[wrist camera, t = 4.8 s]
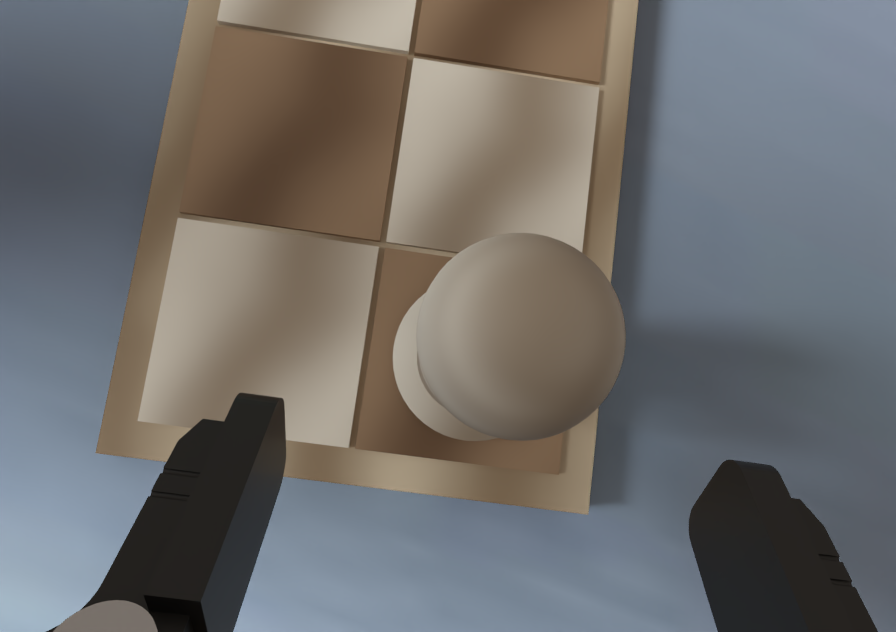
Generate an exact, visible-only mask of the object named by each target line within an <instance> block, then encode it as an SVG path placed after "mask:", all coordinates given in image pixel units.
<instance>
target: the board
mask: <svg viewBox="0 0 896 632" xmlns="http://www.w3.org/2000/svg"><path fill="white" fill-rule="evenodd" d="M637 10H638V0H189V2H188V7H187V12H186V17H185V22H184V27H183V31H182V36H181V41H180V46H179V51H178V56H177V60H176V65H175V70H174V75H173V80H172V85H171V90H170V94H169V99H168V104H167V109H166V114H165V119H164V124H163V128H162V133H161V138H160V143H159V148H158V153H157V158H156V162H155V167H154V172H153V177H152V182H151V187H150V192H149V196H148V201H147V206H146V211H145V216H144V221H143V226H142V230H141V235H140V240H139V245H138V250H137V255H136V260H135V264H134V269H133V274H132V279H131V284H130V289H129V294H128V298H127V303H126V308H125V313H124V318H123V323H122V328H121V332H120V337H119V342H118V347H117V352H116V357H115V362H114V366H113V371H112V376H111V381H110V386H109V391H108V396H107V400H106V405H105V410H104V415H103V420H102V425H101V429H100V434H99V439H98V444H97V449H96V453H99V454H107V455H115V456H123V457H131V458H139V459H147V460H155V461H163V462H167V460H168V459H169V457H170V455H171V453H172V451H173V449H174V447H175V445H176V443H177V442H178V440H179V439H180V438H181V437H183V436H184V435H185V434H186V433H187V432H188V431H189V430H191V429H192V428H193V427H194V426H195V425H196V424H197V423H198V422H200V421H201V420H202V419H209V420H217V421H225V418H226V416H227V414H228V412H229V410H230V408H231V406H232V403H233V401H234V399H235V398H236V396H237V395H238V394H239V393H241V392H242V393H249V394H257V395H264V396H272V397H279V398H283V400H284V406H285V431H286V463H285V469H284V475H283V477H291V478H299V479H307V480H315V481H323V482H331V483H339V484H347V485H355V486H363V487H371V488H379V489H387V490H395V491H403V492H411V493H419V494H427V495H435V496H443V497H451V498H459V499H467V500H475V501H483V502H491V503H499V504H507V505H515V506H523V507H531V508H539V509H547V510H555V511H563V512H571V513H579V514H587V515H588V512H589V502H590V492H591V481H592V471H593V461H594V451H595V440H596V430H597V420H598V410H599V407H598V408H597V409H596V410H595V411H594V412H593V413H592V414H591V415H590V416H589V417H587V418H586V419H584V420H583V421H582V422H580V423H579V424H577V425H576V426H574V427H572V428H570V429H568V430H566V431H565V432H563V433H560V434H557V435H554V436H551V437H547V438H543V439H538V440H527V441H518V440H506V439H501V438H496V439H491V440H486V441H464V440H459V439H454V438H451V437H448V436H445V435H443V434H441V433H439V432H437V431H435V430H433V429H432V428H430V427H429V426H427V425H426V424H424V423H423V422H422V421H421V420H420V419H419V418H418V417H416V415H415V414H414V413H413V412H412V411H411V410H410V408H409V407H408V405H407V404H406V402H405V401H404V399H403V397H402V395H401V393H400V391H399V389H398V386H397V383H396V380H395V375H394V370H393V347H394V342H395V337H396V334H397V331H398V328H399V326H400V324H401V322H402V320H403V318H404V316H405V314H406V313H407V312H408V310H409V309H410V307H411V306H412V305H413V304H414V303H415V302H416V301H417V300H418V299H419V298H420V297H421V296H422V295H423V294H425V293H426V292H427V290H428V288H429V286H430V284H431V283H432V281H433V280H434V278H435V277H436V276H437V274H438V273H439V271H440V270H441V269H442V268H443V267H444V266H445V265H446V264H447V262H448V261H450V260H451V259H452V258H453V257H454V256H455V255H457V254H458V253H459V252H461V251H462V250H464V249H466V248H467V247H469V246H471V245H473V244H475V243H477V242H479V241H481V240H484V239H487V238H490V237H494V236H497V235H503V234H508V233H532V234H539V235H544V236H548V237H551V238H554V239H557V240H560V241H562V242H564V243H566V244H568V245H570V246H572V247H574V248H576V249H577V250H579V251H580V252H582V253H583V254H585V255H586V256H587V257H588V258H589V259H591V260H592V261H593V262H594V263H595V264H596V265H597V266H598V267H599V268H600V270H601V271H602V272H603V273H604V274H605V276H606V277H607V279H608V280H609V282H610V283H611V276H612V266H613V256H614V246H615V235H616V225H617V215H618V205H619V194H620V184H621V174H622V164H623V153H624V143H625V133H626V123H627V112H628V102H629V92H630V82H631V71H632V61H633V51H634V41H635V30H636V20H637Z"/></svg>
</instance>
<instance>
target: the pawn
mask: <svg viewBox="0 0 896 632" xmlns="http://www.w3.org/2000/svg"><path fill="white" fill-rule="evenodd" d="M625 340H626V331H625V321H624V316H623V312H622V308H621V305H620V302H619V299H618V297H617V294H616V292H615V291H614V289H613V287H612V285H611V283H610V282H609V280H608V279H607V277H606V276H605V274H604V273H603V272H602V271H601V270H600V268H599V267H598V266H597V265H596V264H595V263H594V262H593V261H592V260H591V259H589V258H588V257H587V256H586V255H585V254H583V253H582V252H580V251H579V250H577V249H576V248H574V247H572V246H570V245H568V244H566V243H564V242H562V241H560V240H557V239H554V238H551V237H548V236H544V235H539V234H532V233H508V234H503V235H497V236H494V237H490V238H487V239H484V240H481V241H479V242H477V243H475V244H473V245H471V246H469V247H467V248H466V249H464V250H462V251H461V252H459V253H458V254H457V255H455V256H454V257H453V258H452V259H451V260H450V261H448V262H447V264H446V265H445V266H444V267H443V268H442V269H441V270H440V271H439V273H438V274H437V276H436V277H435V278H434V280H433V281H432V283H431V284H430V286H429V288H428V290H427V292H426V293H425V294H423V295H422V296H421V297H420V298H419V299H418V300H417V301H416V302H415V303H414V304H413V305H412V306H411V307H410V309H409V310H408V312H407V313H406V314H405V316H404V318H403V320H402V322H401V324H400V326H399V328H398V331H397V334H396V337H395V342H394V347H393V370H394V375H395V380H396V383H397V386H398V389H399V391H400V393H401V395H402V397H403V399H404V401H405V402H406V404H407V405H408V407H409V408H410V410H411V411H412V412H413V413H414V414H415V415H416V417H418V418H419V419H420V420H421V421H422V422H423V423H424V424H426V425H427V426H429V427H430V428H432V429H433V430H435V431H437V432H439V433H441V434H443V435H445V436H448V437H451V438H454V439H459V440H464V441H486V440H491V439H496V438H501V439H506V440H518V441H527V440H538V439H543V438H547V437H551V436H554V435H557V434H560V433H563V432H565V431H566V430H568V429H570V428H572V427H574V426H576V425H577V424H579V423H580V422H582V421H583V420H584V419H586V418H587V417H589V416H590V415H591V414H592V413H593V412H594V411H595V410H596V409H597V408H598V407H599V406H600V405H601V403H602V402H603V401H604V400H605V399H606V397H607V396H608V394H609V393H610V391H611V389H612V388H613V386H614V384H615V382H616V379H617V377H618V375H619V372H620V369H621V365H622V362H623V358H624V351H625Z"/></svg>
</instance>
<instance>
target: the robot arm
mask: <svg viewBox="0 0 896 632" xmlns="http://www.w3.org/2000/svg"><path fill="white" fill-rule="evenodd" d="M285 463H286V431H285V406H284V400H283V398H279V397H272V396H264V395H257V394H249V393H242V392H241V393H239V394H238V395H237V396H236V398H235V399H234V401H233V403H232V406H231V408H230V410H229V412H228V414H227V416H226V418H225V421H217V420H209V419H202V420H201V421H200V422H198V423H197V424H196V425H195V426H194V427H193V428H192V429H191V430H189V431H188V432H187V433H186V434H185V435H184V436H183V437H181V438H180V439H179V440H178V442H177V443H176V445H175V447H174V449H173V451H172V453H171V455H170V457H169V459H168V460H167V462H166V464H165V466H164V470H163V473H161V474H160V475H159V477H158V479H157V481H156V483H155V485H154V487H153V489H152V493H151V496H150V497H149V496H148V498H147V500H146V502H145V504H144V506H143V508H142V509H141V511H140V513H139V515H138V517H137V519H136V521H135V523H134V524H133V526H132V528H131V530H130V532H129V534H128V536H127V538H126V540H125V541H124V543H123V545H122V547H121V549H120V551H119V553H118V555H117V557H116V558H115V560H114V562H113V564H112V566H111V568H110V570H109V572H108V573H107V575H106V577H105V579H104V581H103V583H102V584H101V586H100V588H99V589H98V591H97V592H96V594H95V595H94V596H93V597H92V599H91V600H90V601H89V602H88V603H87V604H86V605H85V606H84V607H83V608H82V609H81V610H80V611H78V612H76V613H75V614H73V615H72V616H70V617H69V618H67V619H66V620H65V621H64V622H63V623H61V624H60V625H59V626H57V627H55V628H53V629H51V630H49V631H47V632H233V630H234V627H235V624H236V621H237V618H238V615H239V612H240V609H241V606H242V603H243V600H244V597H245V593H246V590H247V587H248V584H249V581H250V578H251V575H252V572H253V569H254V566H255V563H256V560H257V557H258V554H259V551H260V548H261V545H262V542H263V539H264V535H265V532H266V529H267V526H268V523H269V520H270V517H271V514H272V511H273V508H274V505H275V502H276V499H277V496H278V493H279V490H280V486H281V483H282V479H283V475H284V469H285ZM689 536H690V541H691V544H692V548H693V551H694V554H695V558H696V561H697V564H698V567H699V571H700V574H701V577H702V581H703V584H704V587H705V591H706V594H707V597H708V601H709V604H710V607H711V610H712V614H713V617H714V620H715V624H716V627H717V630H718V632H878V631H877V629H876V627H875V625H874V623H873V621H872V619H871V617H870V615H869V613H868V611H867V609H866V608H865V606H864V604H863V602H862V600H861V598H860V596H859V594H858V592H857V590H856V588H855V587H852V585H851V582H852V580H851V578H850V576H849V574H848V572H847V570H846V568H845V566H844V564H843V562H839V555H838V553H837V551H836V549H835V547H834V545H833V543H832V541H831V539H830V537H829V535H828V533H827V531H826V529H825V527H824V526H823V525H822V524H821V522H820V521H819V520H818V519H817V518H816V517H815V516H814V515H813V513H812V512H811V511H810V510H809V509H808V508H807V507H806V506H805V504H804V503H803V502H802V501H801V500H800V499H794V498H791V497H790V495H789V492H788V490H787V488H786V486H785V484H784V482H783V480H782V478H781V476H780V474H779V472H778V471H777V470H776V469H775V468H774V467H772V466H770V465H765V464H757V463H750V462H743V461H735V460H726V461H724V462H723V463H722V464H721V466H720V467H719V468H718V470H717V471H716V473H715V474H714V476H713V477H712V479H711V480H710V482H709V483H708V485H707V486H706V488H705V489H704V491H703V492H702V494H701V495H700V497H699V498H698V500H697V501H696V503H695V504H694V506H693V508H692V510H691V514H690V518H689Z"/></svg>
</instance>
